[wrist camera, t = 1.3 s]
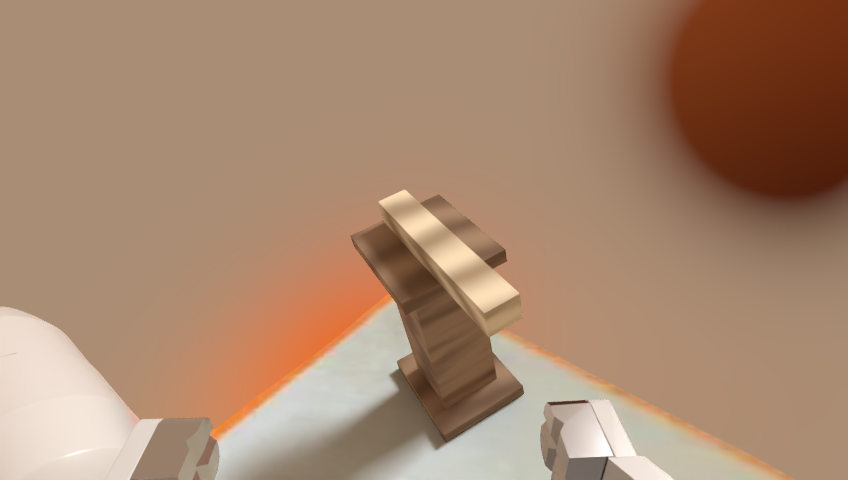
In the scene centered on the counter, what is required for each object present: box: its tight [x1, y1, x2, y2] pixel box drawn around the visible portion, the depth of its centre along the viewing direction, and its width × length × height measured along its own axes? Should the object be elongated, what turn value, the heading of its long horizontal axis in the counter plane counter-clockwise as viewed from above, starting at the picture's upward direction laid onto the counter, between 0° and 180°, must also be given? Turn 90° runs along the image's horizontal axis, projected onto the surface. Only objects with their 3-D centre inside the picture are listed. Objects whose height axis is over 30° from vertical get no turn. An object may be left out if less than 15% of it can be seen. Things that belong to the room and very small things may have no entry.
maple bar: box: [378, 190, 522, 337], centre depth 50 cm, size 22×4×3 cm, turn 28°
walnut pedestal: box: [351, 195, 524, 442], centre depth 61 cm, size 14×12×25 cm
